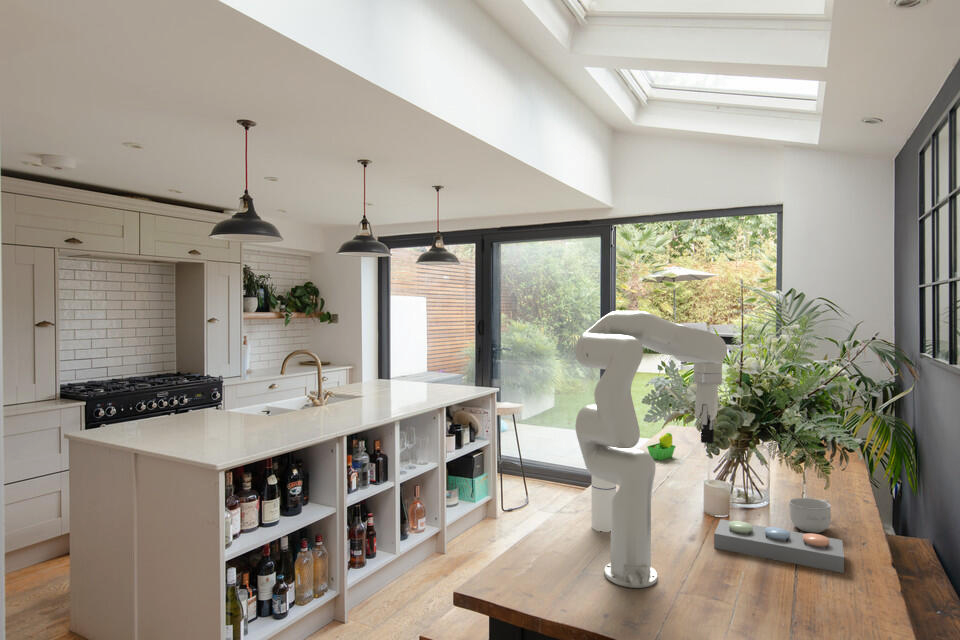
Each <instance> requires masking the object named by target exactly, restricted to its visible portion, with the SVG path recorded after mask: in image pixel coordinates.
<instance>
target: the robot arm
mask: <svg viewBox="0 0 960 640" xmlns="http://www.w3.org/2000/svg"><path fill="white" fill-rule="evenodd" d="M727 347H728V346H727V344H726V342H725V340H724V338H722V337H721V336H720V335H717V334H715V333H713V332H711V331H709V330H703V329H700V328H695V327H692V326H687V325H683V324H681V323H676V322H671V321H670V320H667V319H665V318H662V317H660V316H658V315H656V314H653V313H650V312H648V311H645V310H644V311H643V310H614V311H611V312H609V313H607V314H606V315H604V316H603V317H601V318H600V319H599V320H597V322H595V323H594V324H593V325H591V326H590V327H589V328H588V329H587V330H586V331H585V332H583V333H582V335H580V337H578V339H577V342H576V343H575V347H574V353H575V354H574V355H575V358H576V360H577V362H578V363H579V364H580V365H582V366H583V367H585V368H590V369H596V370H597V369H599V370H605V371H604V372H603V374H602V375H601V377H600V379H599V380H598V382H597V384H596V385H595V388H594V393H593V394H594V395H593V396H594V401H595V403H593V404H586V405H584V406H583V407H582V408H581V409H580V410H579V411H578V413H577V416H576V420H575V434H576V437H577V438H576V439H577V441H578V444H579V448H580V452H581V455H582V458H583V461H584V465H585V468H586V470H587V471H588V473H589V474H590V475H591V477H592V476H594V477H595V478H598V479H601V480H604V481H608V482H611V483H614V484H616V486H617V485H618V489H617V490H616V494H615V495H614V497H613V498H612V501H611V532H610V562H608V563H607V564H606V565H605V566H604V568H603V574H604V576H605V578H607V580H609V581H610V582H611V583H613V584H614V585H615V584H616V585H618V586H621V587H626V588H629V589H630V588H633V589H643V588H647V587H651V586H653V585H655V584H656V583H657V581H658V572H657V571H656V570H655V568H653V567H652V563H651V562H652V557H651V556H652V493H653V486H654V481H655V475H656V471H657V469H656V468H657V466H656V461H655V459H653V458H652V456H651V455H650V454H649V452H647V451H645V450H643V449H641V448H637V447H636V445H637V444H638V443H639V441H640V436H641V433H640V426H639V421H638V418H637V413H636V410H635V409H636V408H635V405H634V401H633V397H632V396H633V395H632V384H633V381H634V378H635V376H636V373H637V371H638V369H639V367H640V365H641V363H642V360H643V358H644V357H643V356H644V348H645V349H648V350H651V351H654V352H656V353H659V354H662V355H668V356H673V357H674V359H676V360H678V361H680V362H682V363H691V364H693V384H695V385H696V387H695V388H696V389H695V399H694V400H695V404H694V405H695V406H694V418H695V420H698V419H699V418H701V419H700V422H701V423H700V424H701V427H700V443H702V444H710V445H713V444H714V441H715V429H714V427H715V426H714V425H715V424H714V420H715V418H716V417H717V415H718V410H719V409H718V407H719V405H718V404H719V386H721V385H723V362H724V360H726V357H727V354H728V348H727ZM701 432H702V433H701ZM702 435H703V436H702ZM706 442H707V443H706Z"/></svg>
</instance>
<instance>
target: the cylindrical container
mask: <svg viewBox="0 0 960 640" xmlns="http://www.w3.org/2000/svg"><path fill="white" fill-rule="evenodd" d="M616 492H617V484H614V483H611V482H608V481H604V480H601V479H598V478H595V477H594V476H592V475H591V528H592V530H594V531H596V532H600V531H602V532H601V533H611V532H610V531H611V501H612V498H613V497H614V495H615V494H616Z"/></svg>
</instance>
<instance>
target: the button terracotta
mask: <svg viewBox="0 0 960 640" xmlns="http://www.w3.org/2000/svg"><path fill="white" fill-rule="evenodd" d="M828 538H829V537H828V536H825V535H822V534H819V533H813V532H807V533H804V535H803V541H804V542H806V545H807V546H813V547H819V548H824V549H826V546H828V545H829V539H828Z"/></svg>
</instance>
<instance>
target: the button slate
mask: <svg viewBox="0 0 960 640" xmlns="http://www.w3.org/2000/svg"><path fill="white" fill-rule="evenodd" d="M766 527H767V528H765V534H766V535H767V536H768V539H774V540H780V541H785V542H787V539H789V538H790V532H789V531H790V530H787V529H785V528H782V527H777V526H766Z"/></svg>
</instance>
